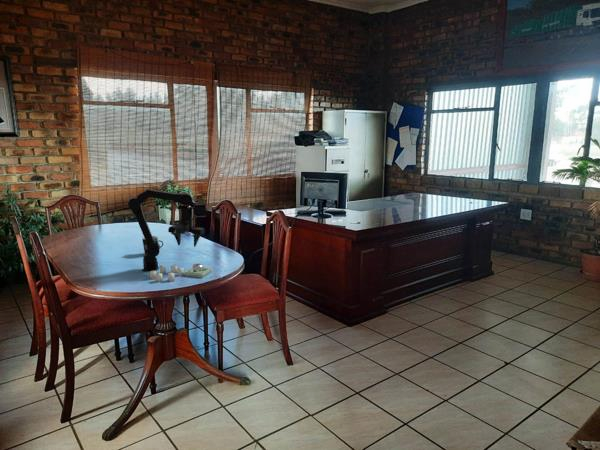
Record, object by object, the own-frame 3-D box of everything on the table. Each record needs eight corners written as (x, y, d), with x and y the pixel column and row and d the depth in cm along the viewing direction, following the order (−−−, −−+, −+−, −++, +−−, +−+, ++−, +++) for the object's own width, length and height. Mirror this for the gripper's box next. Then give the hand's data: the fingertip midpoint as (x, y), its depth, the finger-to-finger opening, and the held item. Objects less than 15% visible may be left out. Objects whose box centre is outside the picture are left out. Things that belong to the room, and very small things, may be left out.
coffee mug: (139, 254, 259) (139, 238, 257) (151, 251, 266) (151, 235, 264) (152, 258, 253) (152, 241, 251) (164, 254, 260) (164, 238, 258)
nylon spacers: (145, 280, 216) (145, 273, 215) (164, 270, 232) (164, 263, 231) (169, 283, 213) (169, 276, 212) (187, 273, 229) (187, 266, 228)
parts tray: (184, 275, 224) (184, 271, 224) (194, 270, 234) (194, 266, 233) (202, 277, 222) (202, 273, 221) (211, 272, 231) (211, 268, 231)
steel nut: (191, 273, 226) (191, 265, 225) (195, 270, 231) (195, 263, 230) (200, 274, 225) (199, 266, 224) (204, 271, 229) (204, 264, 228)
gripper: (162, 218, 227) (163, 247, 230) (195, 221, 222) (195, 251, 226) (173, 214, 237) (174, 242, 241) (205, 217, 233) (205, 246, 236)
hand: (187, 245), depth 236 cm, fingers open, 9 cm apart
